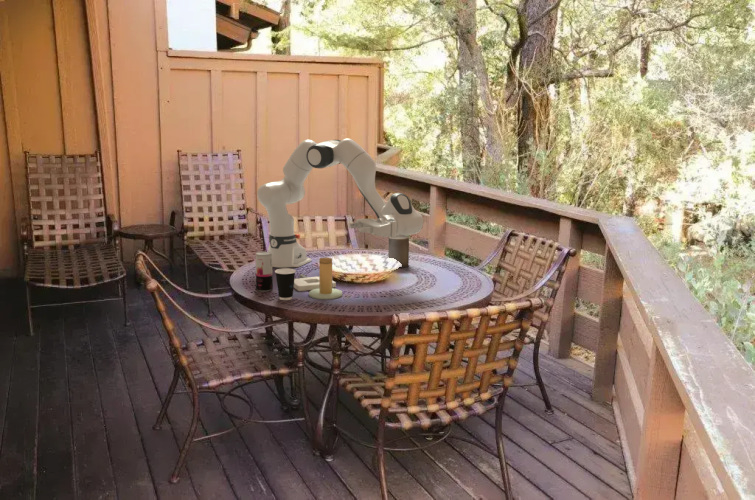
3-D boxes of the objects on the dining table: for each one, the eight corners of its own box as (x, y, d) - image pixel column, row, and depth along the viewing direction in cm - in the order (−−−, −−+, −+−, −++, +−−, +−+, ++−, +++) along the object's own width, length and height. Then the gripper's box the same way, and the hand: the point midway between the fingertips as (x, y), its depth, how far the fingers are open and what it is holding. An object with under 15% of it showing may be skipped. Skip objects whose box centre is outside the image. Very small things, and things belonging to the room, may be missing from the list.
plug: (329, 290, 266) (329, 257, 263) (334, 293, 262) (334, 259, 259) (317, 291, 264) (317, 258, 261) (322, 294, 260) (322, 260, 257)
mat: (322, 288, 272) (322, 286, 272) (348, 293, 265) (348, 291, 265) (302, 295, 261) (302, 293, 261) (329, 301, 255) (329, 298, 254)
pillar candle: (410, 264, 318) (411, 232, 315) (406, 268, 308) (406, 236, 305) (390, 262, 320) (391, 231, 317) (385, 267, 311) (385, 235, 308)
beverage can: (260, 292, 265) (259, 255, 262) (253, 289, 270) (252, 252, 267) (275, 290, 268) (275, 253, 265) (268, 286, 274) (267, 250, 271)
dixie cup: (297, 300, 255) (297, 272, 252) (276, 302, 253) (276, 273, 250) (294, 295, 262) (294, 267, 260) (274, 296, 260) (273, 268, 258)
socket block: (318, 276, 292) (318, 271, 292) (335, 287, 275) (335, 282, 274) (283, 279, 285) (283, 274, 285) (298, 291, 268) (298, 286, 267)
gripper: (375, 214, 277) (344, 216, 271) (397, 222, 259) (365, 224, 253) (375, 229, 279) (344, 231, 273) (397, 238, 261) (365, 240, 255)
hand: (354, 227), depth 263 cm, fingers open, 8 cm apart
